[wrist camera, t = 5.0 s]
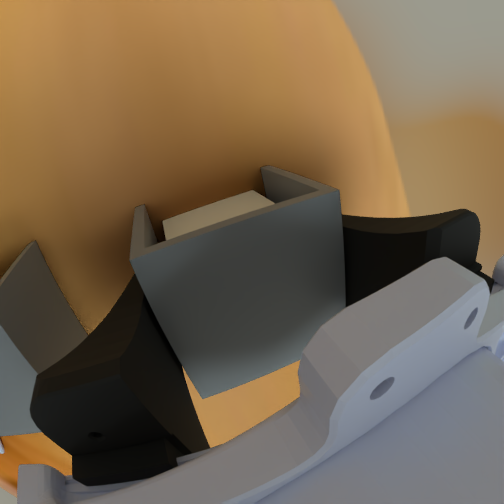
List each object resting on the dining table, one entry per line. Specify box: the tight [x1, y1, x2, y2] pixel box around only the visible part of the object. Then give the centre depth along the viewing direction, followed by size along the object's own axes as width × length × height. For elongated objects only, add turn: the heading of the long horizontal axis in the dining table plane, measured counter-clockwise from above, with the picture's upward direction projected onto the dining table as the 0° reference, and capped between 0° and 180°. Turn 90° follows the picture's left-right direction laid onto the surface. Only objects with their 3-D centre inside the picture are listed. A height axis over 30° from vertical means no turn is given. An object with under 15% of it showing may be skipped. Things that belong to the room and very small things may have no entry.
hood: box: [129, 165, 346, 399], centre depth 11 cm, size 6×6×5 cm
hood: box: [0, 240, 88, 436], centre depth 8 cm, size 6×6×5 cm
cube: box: [163, 190, 275, 240], centre depth 11 cm, size 4×4×4 cm
